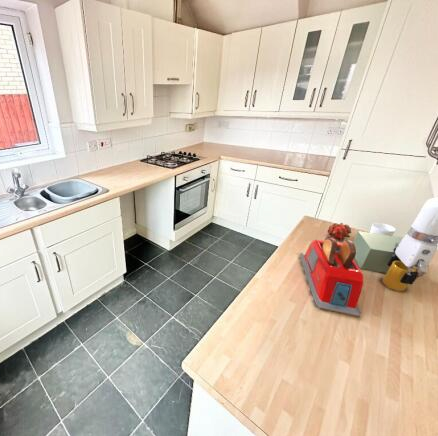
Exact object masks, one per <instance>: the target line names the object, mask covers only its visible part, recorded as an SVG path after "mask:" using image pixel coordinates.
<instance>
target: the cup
mask: <svg viewBox="0 0 438 436" xmlns="http://www.w3.org/2000/svg"><path fill="white" fill-rule="evenodd" d="M414 267H415V266H414ZM414 271H416V269H413V268H412V272H414ZM405 273H407V266H406V265H405V264H404V263H403V262H402V261H393V263H392V264H391V266H390V268H389V269H388V271H387V273H384V274H385V275H384V276H383V278H382V281H381V282H382V284H383V285H384V286H385V287H387V288H389V289H391V290H394V291H396V292H397V291H398V292H403V291H404V292H405V291H406V289H407V288H408V286H409V284H405V283H401V282H400V280H401V279H402V277H403V275H404V274H405Z"/></svg>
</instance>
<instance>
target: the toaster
mask: <svg viewBox="0 0 438 436" xmlns="http://www.w3.org/2000/svg"><path fill="white" fill-rule="evenodd" d="M355 255H356V248H355V245H354V243H353V241H352V240H351V239H344V240H342V241H341V242H337V239H333V238H329V237H326V238H325V239H324V240H322V239H321V240H320V239H314V240H312V241H311V243H310V244H309V246H308V247H307V249H306V252H301V253H300V254H299V256H300V261H301V265H302V267H303V270H304V273H305V276H306V279H307V282H308V285H309V288H310V291H311V294H312V297H313V300H314V303H315V305H316V307H317V308H318V309H320V310H325V311H329V312H333V313H339V314H342V315H343V314H344V315H348V316H352V317H356V318H360V317H361V315H362V312H361V310H360V308H359V305H358V302H359V300H360V297H361V294H362V291H363V287H364V274H363V272H362V271H361V268H360V267H359V265H358V263H357V262H356V260H355Z"/></svg>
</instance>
